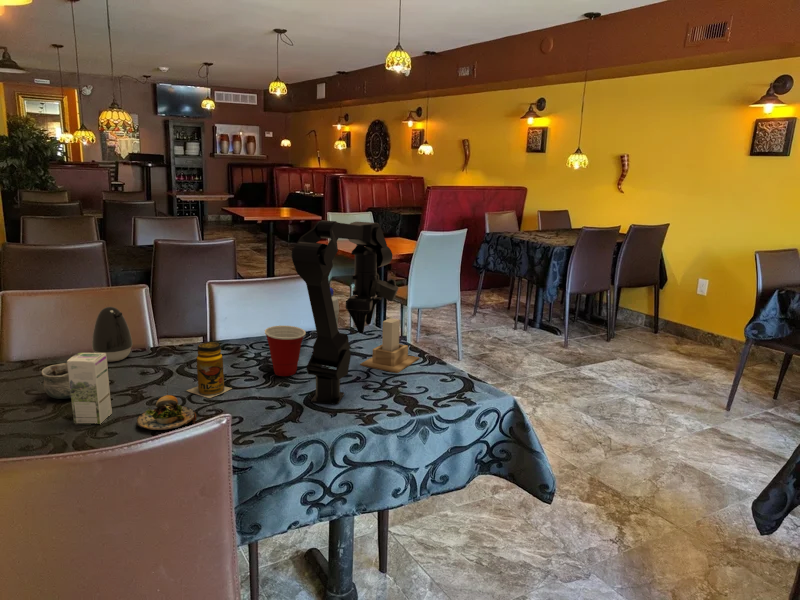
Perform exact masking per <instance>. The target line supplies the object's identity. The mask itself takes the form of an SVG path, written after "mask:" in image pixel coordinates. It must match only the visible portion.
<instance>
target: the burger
mask: <svg viewBox="0 0 800 600" xmlns="http://www.w3.org/2000/svg"><path fill="white" fill-rule="evenodd" d="M166 387H167V391H166V395H163V396H162V397H160V398H158V400H157V401H156V403H155V408H152V409H151V408H150V407H148V409H146V410H145V411H144V412H143V413H141V414H140V415H139V416H138V417H137V418H136V427H137V428H138V427H139V428H144V429H147V430H150V431H151V430H153V431H156V430H158V431H163V430H171V429H176V428H179V427H181V426H183V425H187V424H188V423H190V422H191V421H192V422H191V424H192V423H194V424H195V423H196V421H197V414H196V411H195V410H194V409H193V408H192V407H191V408H190V407H188V406H183V405H180V404H179V402H178V401H179V400H178V398H177V397H176V396H175V395H170V394H168V390H169V388H168V387H169V386H166Z"/></svg>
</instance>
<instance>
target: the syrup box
mask: <svg viewBox="0 0 800 600" xmlns="http://www.w3.org/2000/svg"><path fill="white" fill-rule="evenodd" d="M66 363H67V367H68V375H69V384H70V393H71V398H70V399H71V408H72V409H71V410H72V415H73V416H72V417H73V424H74V423H95V424H96V423H97V424H100V425H102V424H103V423H104V422H105V421H106V420H107V419H106V418H107V417H108V416H110V415H111V414H112V415H113V409H112V404H111V403H112V401H111V391H110V382H109V368H108V362H107V357H106V353H95V352H78V353H76V354H74V355H73V356H71V357H70V358H68V360H66ZM112 415H111V416H112ZM111 416H110V417H111ZM105 419H106V420H105ZM104 420H105V421H104ZM103 421H104V422H103ZM102 422H103V423H102ZM101 423H102V424H101Z"/></svg>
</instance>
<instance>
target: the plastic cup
mask: <svg viewBox="0 0 800 600" xmlns="http://www.w3.org/2000/svg"><path fill="white" fill-rule="evenodd" d="M264 334H265V336H266V338H267V343H268V348H269V353H270V358H271V363H272V368H273V372H274V375H276V376H278V377H290V376H293V375H295V374H296V373H297V371H298V365H299V364H298V363H299V360H300V353H301V348H302V343H303V339H304V337H305V335H306V334H307V333H306V330H304V329H303V328H300V327H299V326H298V327H297V326H293V325H273V326H269V327H267V328H265V329H264Z"/></svg>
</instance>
